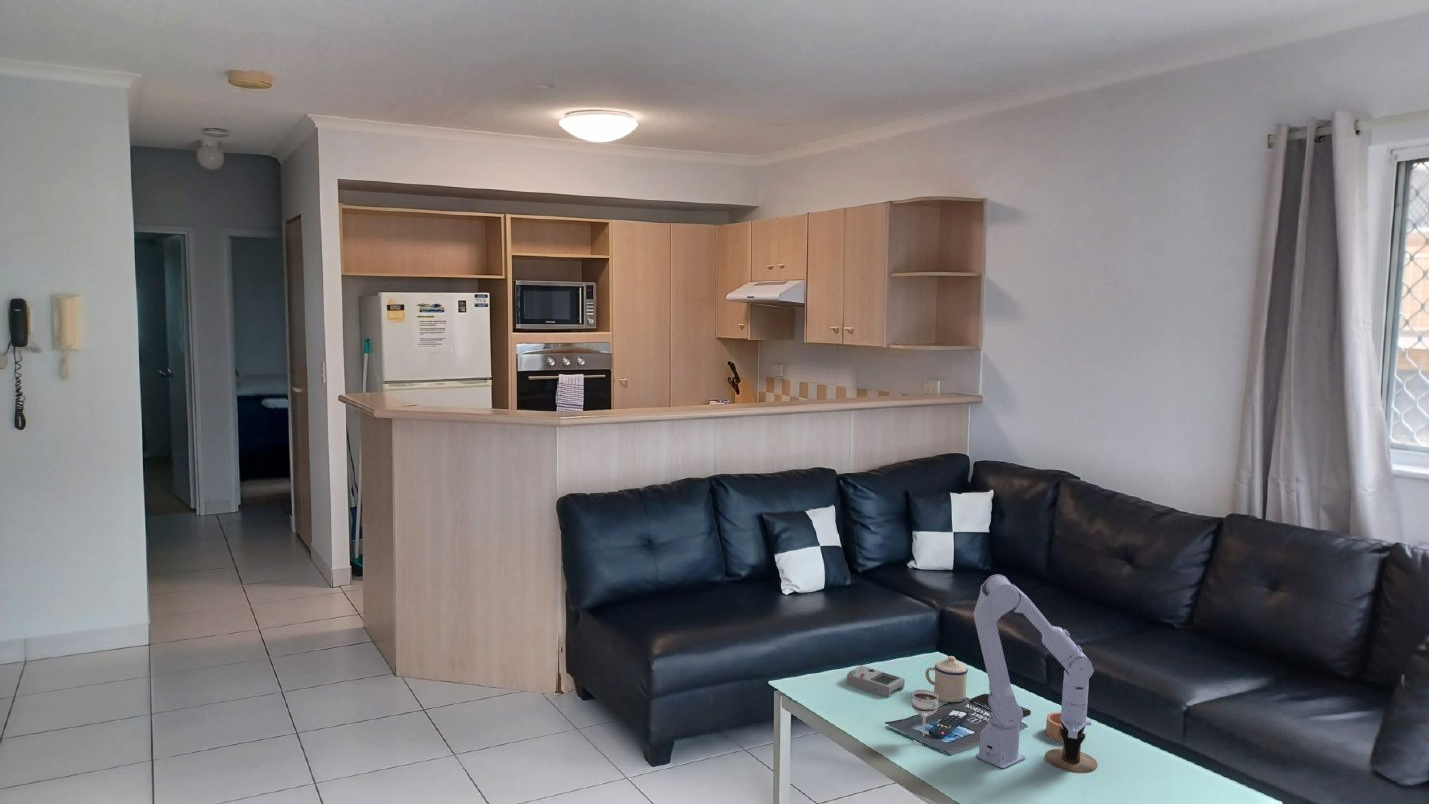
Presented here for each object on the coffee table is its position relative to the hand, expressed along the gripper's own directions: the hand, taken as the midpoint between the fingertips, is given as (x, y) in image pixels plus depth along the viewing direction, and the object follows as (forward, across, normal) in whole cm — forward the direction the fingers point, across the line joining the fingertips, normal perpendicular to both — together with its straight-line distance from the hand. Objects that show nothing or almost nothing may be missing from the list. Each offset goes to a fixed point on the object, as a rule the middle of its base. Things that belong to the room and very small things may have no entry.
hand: (1071, 755), depth 231 cm
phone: (+2, +26, +19) cm, 32 cm away
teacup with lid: (+2, +28, +34) cm, 44 cm away
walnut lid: (+2, 0, 0) cm, 2 cm away
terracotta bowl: (+1, +15, +2) cm, 15 cm away
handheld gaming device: (+2, +26, +53) cm, 59 cm away
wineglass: (+2, -4, +35) cm, 35 cm away
